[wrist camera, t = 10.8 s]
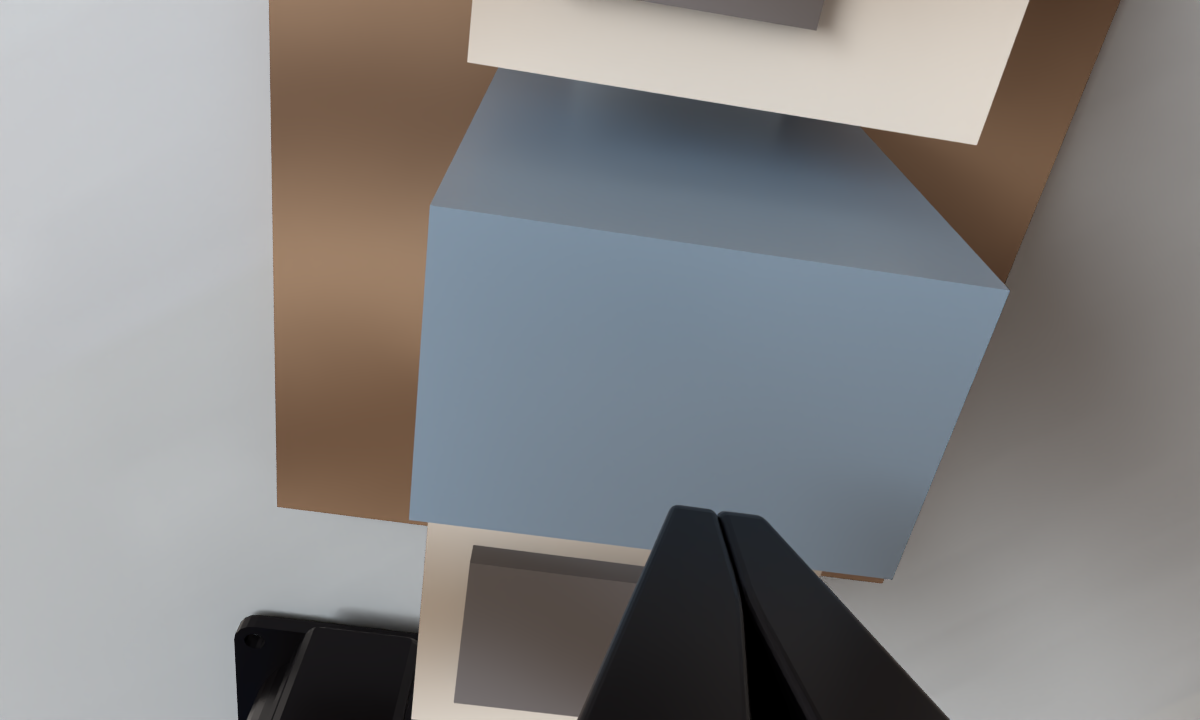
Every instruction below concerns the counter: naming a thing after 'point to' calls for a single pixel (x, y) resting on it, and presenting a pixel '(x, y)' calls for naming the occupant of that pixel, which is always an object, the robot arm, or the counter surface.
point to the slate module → (687, 325)
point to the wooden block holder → (421, 159)
